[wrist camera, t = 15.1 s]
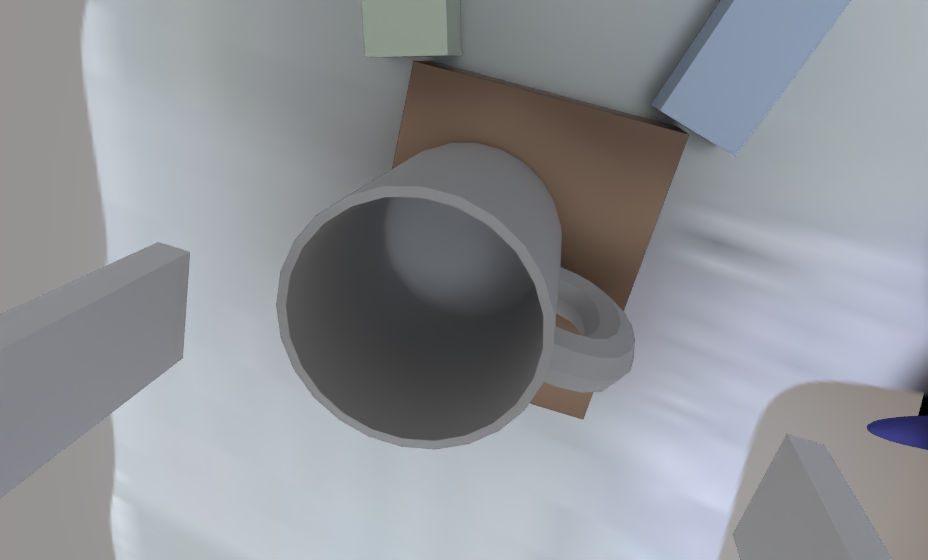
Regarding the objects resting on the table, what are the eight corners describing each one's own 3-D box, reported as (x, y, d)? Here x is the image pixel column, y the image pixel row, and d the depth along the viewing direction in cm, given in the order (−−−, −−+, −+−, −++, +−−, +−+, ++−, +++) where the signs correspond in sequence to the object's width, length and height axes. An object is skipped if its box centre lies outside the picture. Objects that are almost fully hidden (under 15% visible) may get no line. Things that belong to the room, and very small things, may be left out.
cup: (412, 108, 23) (317, 137, 14) (666, 213, 22) (718, 304, 14) (356, 278, 25) (249, 385, 17) (582, 374, 25) (585, 529, 17)
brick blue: (752, -50, 22) (778, -67, 19) (825, -5, 22) (861, -15, 19) (649, 104, 24) (659, 110, 21) (716, 144, 24) (734, 156, 21)
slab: (429, 61, 24) (413, 61, 22) (678, 127, 24) (689, 134, 21) (373, 326, 29) (355, 350, 27) (582, 389, 28) (583, 419, 26)
